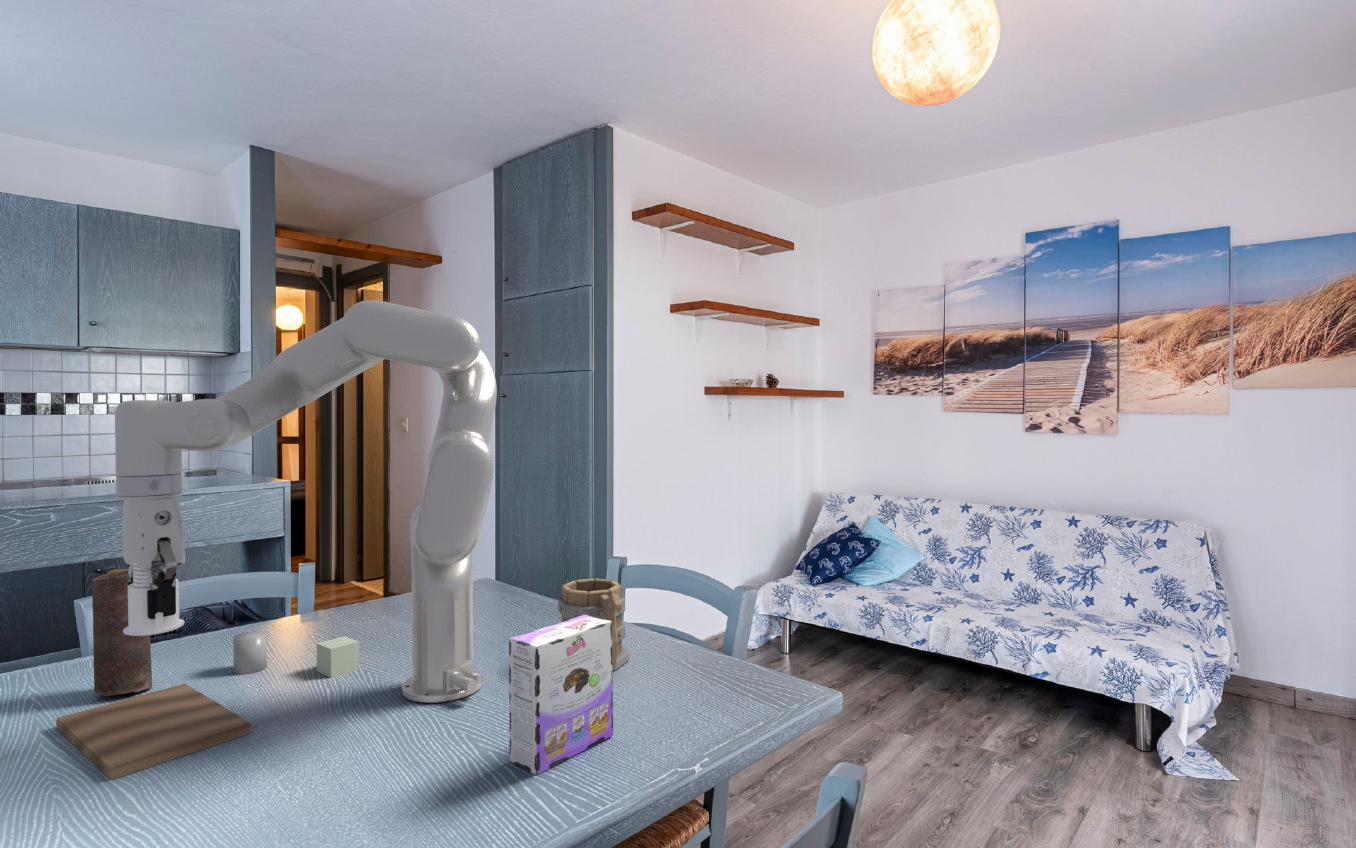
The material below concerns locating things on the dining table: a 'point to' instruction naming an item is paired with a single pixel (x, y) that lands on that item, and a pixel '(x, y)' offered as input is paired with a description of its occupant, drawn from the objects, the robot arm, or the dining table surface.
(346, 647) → the sage block
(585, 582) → the tankard
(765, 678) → the dining table surface
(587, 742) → the candy box
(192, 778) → the dining table surface
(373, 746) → the dining table surface
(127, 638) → the brown textured cylinder
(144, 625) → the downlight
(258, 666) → the grey rounded cylinder
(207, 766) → the dining table surface
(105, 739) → the walnut board
